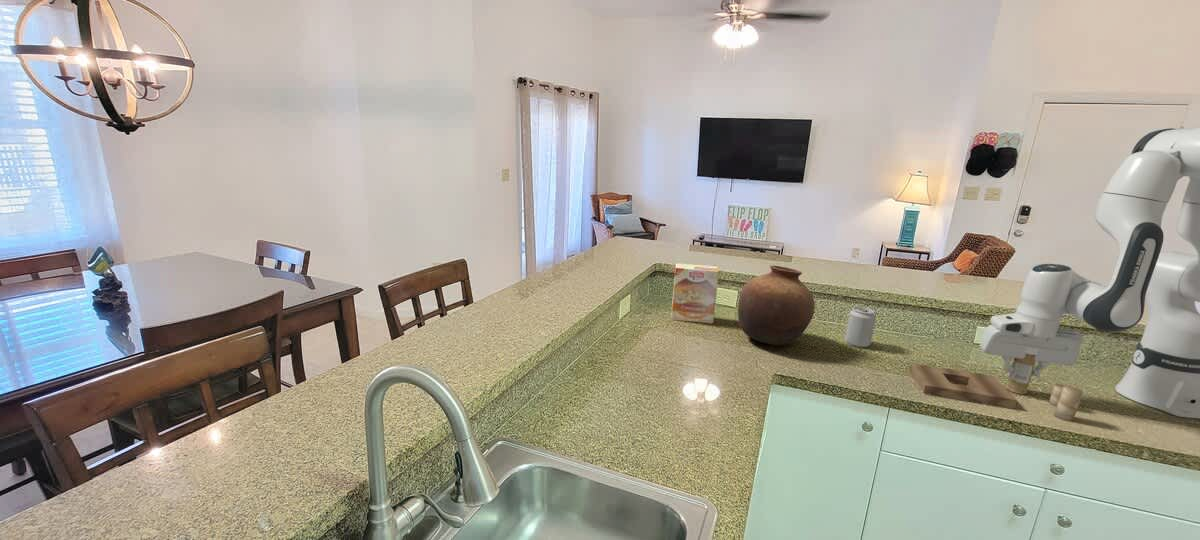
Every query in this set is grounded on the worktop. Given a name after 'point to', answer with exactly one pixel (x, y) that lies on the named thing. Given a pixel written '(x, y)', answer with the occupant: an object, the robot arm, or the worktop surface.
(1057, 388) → the short beech dowel
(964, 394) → the walnut board
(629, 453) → the worktop surface
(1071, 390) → the medium beech dowel
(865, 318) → the can
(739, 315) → the pottery
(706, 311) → the coffeecake box
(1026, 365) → the sprinkles bottle
